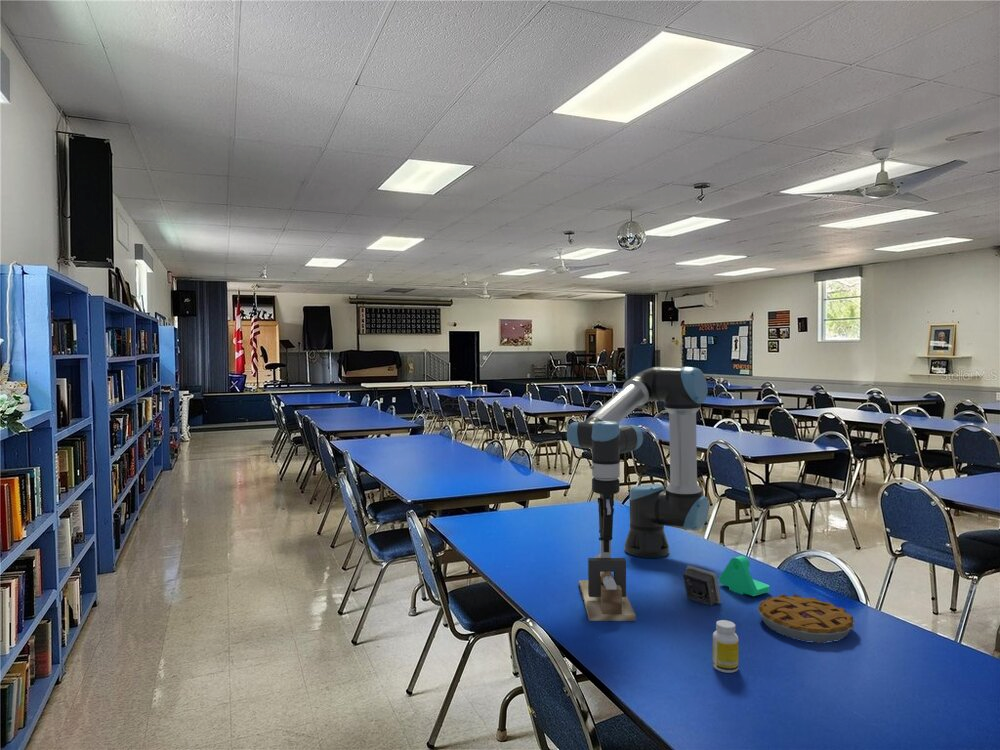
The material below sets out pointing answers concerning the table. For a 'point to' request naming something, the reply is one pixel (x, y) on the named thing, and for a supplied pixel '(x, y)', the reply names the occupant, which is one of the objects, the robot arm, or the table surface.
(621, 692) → the table surface
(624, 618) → the pipe stand
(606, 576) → the pipe
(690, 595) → the electrical switch
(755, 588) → the camera mount
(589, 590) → the collar
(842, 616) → the pie
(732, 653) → the supplement bottle
